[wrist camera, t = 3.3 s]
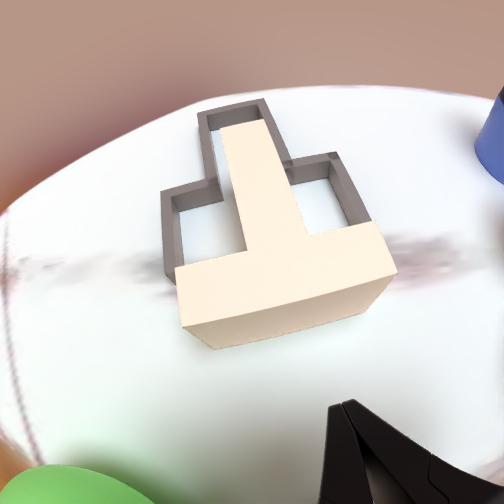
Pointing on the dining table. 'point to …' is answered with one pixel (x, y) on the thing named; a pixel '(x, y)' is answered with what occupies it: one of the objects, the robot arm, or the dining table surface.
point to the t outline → (211, 187)
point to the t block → (277, 259)
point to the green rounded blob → (68, 487)
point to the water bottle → (493, 140)
